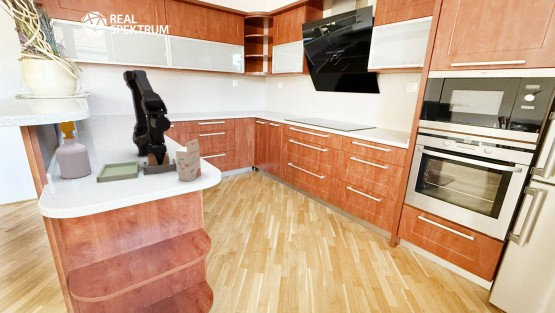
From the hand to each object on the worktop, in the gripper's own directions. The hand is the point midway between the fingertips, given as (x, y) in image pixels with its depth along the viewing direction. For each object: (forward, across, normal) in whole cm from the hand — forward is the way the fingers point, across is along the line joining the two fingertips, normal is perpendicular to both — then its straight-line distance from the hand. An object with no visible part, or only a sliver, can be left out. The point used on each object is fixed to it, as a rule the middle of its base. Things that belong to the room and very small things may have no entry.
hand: (159, 163), depth 106 cm
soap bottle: (+1, 0, -29) cm, 29 cm away
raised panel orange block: (+1, -3, 0) cm, 3 cm away
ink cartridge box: (+1, +19, +10) cm, 21 cm away
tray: (+1, +4, -14) cm, 15 cm away
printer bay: (+1, +6, 0) cm, 6 cm away
